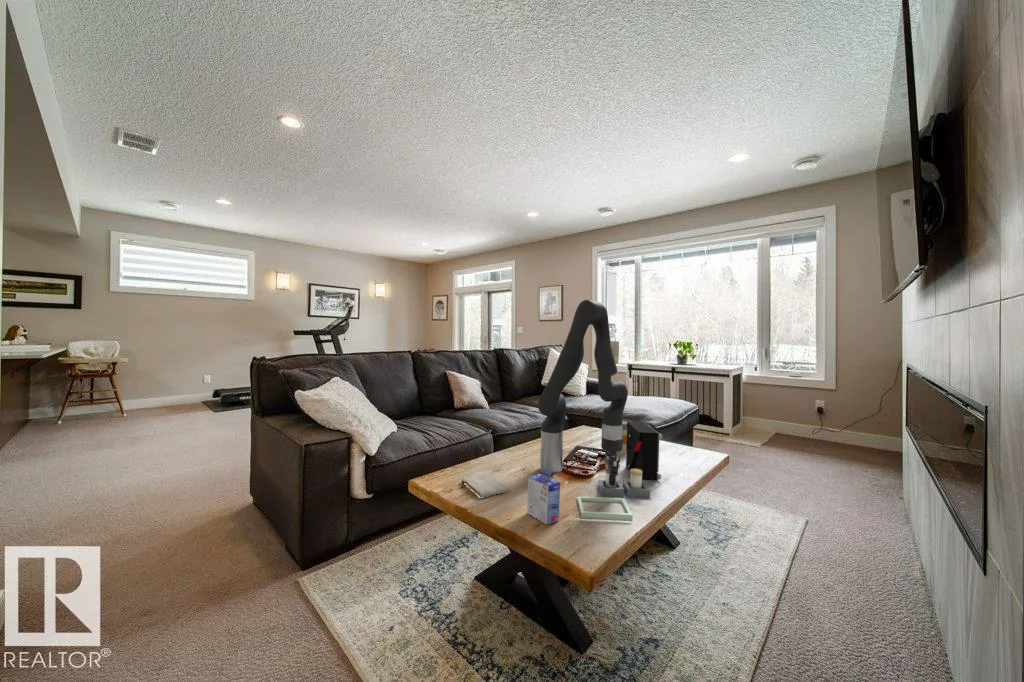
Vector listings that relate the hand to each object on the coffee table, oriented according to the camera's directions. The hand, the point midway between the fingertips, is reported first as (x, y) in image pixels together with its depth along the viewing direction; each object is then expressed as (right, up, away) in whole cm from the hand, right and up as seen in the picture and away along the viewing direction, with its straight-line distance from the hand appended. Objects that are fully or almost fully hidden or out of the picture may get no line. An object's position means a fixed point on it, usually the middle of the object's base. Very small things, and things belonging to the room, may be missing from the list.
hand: (611, 482), depth 141 cm
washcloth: (-47, -4, +4) cm, 47 cm away
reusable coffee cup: (+17, -3, +51) cm, 54 cm away
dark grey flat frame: (-3, -4, +37) cm, 38 cm away
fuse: (0, -3, 0) cm, 3 cm away
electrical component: (+18, -4, +20) cm, 27 cm away
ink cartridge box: (-26, -5, -18) cm, 32 cm away
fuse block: (+4, -4, 0) cm, 6 cm away
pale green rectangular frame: (-6, -5, -13) cm, 15 cm away
